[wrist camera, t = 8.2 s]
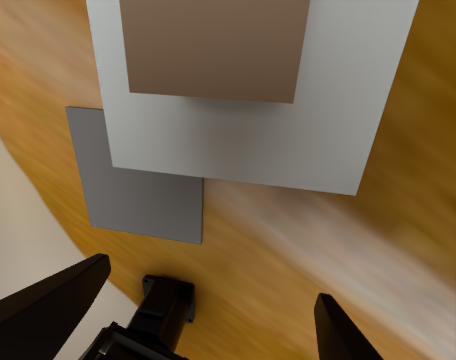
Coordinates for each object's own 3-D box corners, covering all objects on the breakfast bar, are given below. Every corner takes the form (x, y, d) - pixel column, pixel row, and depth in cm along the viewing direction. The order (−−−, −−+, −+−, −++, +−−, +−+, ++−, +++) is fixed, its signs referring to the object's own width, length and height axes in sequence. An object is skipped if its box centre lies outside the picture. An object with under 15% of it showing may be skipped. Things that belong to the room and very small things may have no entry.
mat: (201, 242, 23) (200, 244, 23) (93, 224, 25) (91, 226, 24) (204, 118, 18) (203, 119, 18) (68, 106, 20) (64, 106, 19)
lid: (348, 187, 10) (403, 251, 6) (123, 161, 11) (45, 198, 7) (471, -214, 5) (1012, -1026, 1) (76, -170, 7) (-176, -519, 3)
